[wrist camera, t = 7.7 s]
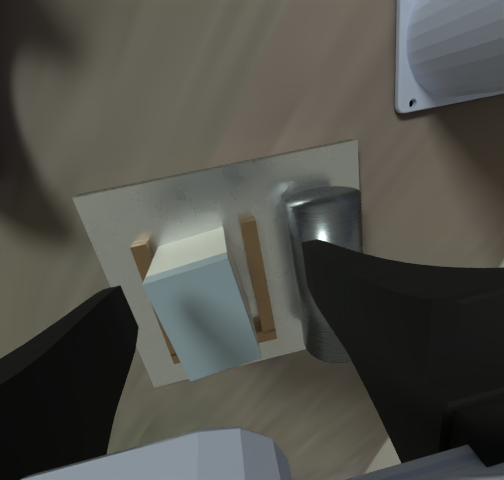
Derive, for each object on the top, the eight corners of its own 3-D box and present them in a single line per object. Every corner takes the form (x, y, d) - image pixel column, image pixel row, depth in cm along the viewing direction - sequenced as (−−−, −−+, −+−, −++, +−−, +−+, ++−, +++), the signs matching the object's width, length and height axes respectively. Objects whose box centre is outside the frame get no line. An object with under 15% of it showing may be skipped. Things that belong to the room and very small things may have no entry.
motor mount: (350, 139, 19) (400, 143, 14) (358, 326, 25) (395, 375, 20) (79, 194, 18) (29, 219, 13) (156, 377, 24) (143, 442, 19)
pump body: (223, 226, 19) (227, 258, 14) (250, 309, 22) (261, 358, 17) (158, 246, 19) (142, 284, 14) (193, 327, 22) (190, 381, 17)
